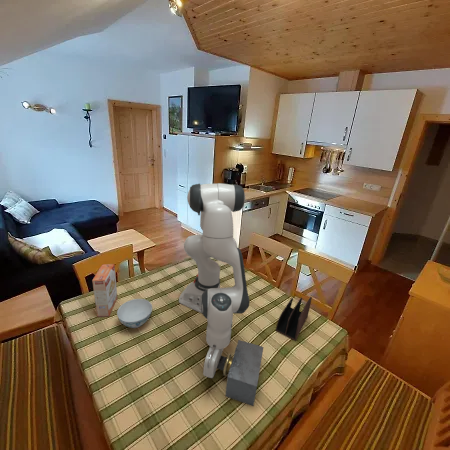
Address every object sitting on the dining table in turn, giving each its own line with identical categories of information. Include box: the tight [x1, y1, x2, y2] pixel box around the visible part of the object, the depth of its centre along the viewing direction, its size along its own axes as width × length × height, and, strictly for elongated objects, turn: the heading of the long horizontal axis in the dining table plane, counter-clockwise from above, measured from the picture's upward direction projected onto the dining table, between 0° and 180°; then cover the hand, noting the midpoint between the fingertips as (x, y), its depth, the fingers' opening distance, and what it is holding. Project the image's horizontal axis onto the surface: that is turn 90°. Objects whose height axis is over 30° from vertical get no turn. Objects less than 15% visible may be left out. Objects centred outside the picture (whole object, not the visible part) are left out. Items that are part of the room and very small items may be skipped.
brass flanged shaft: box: [216, 353, 234, 376], centre depth 88 cm, size 15×7×7 cm, turn 74°
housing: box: [225, 339, 264, 407], centre depth 87 cm, size 10×16×10 cm, turn 164°
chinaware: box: [116, 298, 153, 329], centre depth 109 cm, size 15×15×8 cm
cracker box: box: [91, 263, 118, 318], centre depth 115 cm, size 14×6×21 cm, turn 8°
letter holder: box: [275, 296, 313, 342], centre depth 115 cm, size 10×20×14 cm, turn 146°
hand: (216, 362), depth 90 cm, fingers closed on brass flanged shaft, 3 cm apart
